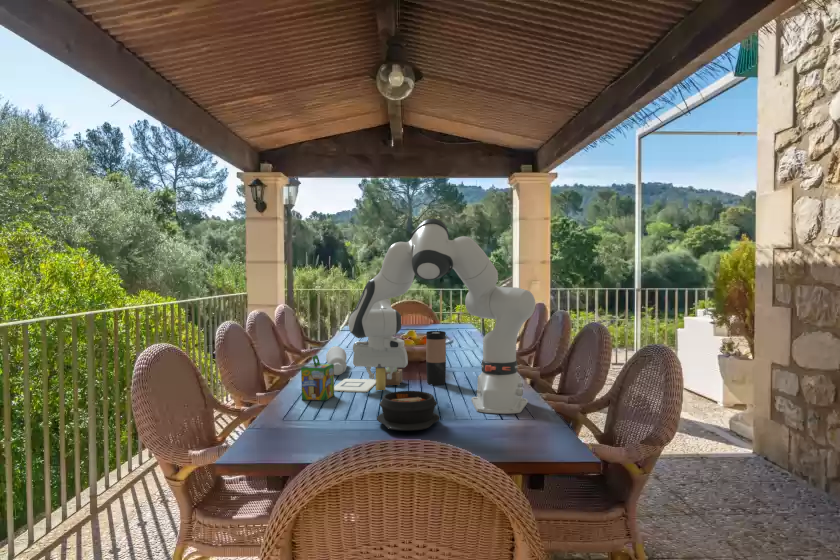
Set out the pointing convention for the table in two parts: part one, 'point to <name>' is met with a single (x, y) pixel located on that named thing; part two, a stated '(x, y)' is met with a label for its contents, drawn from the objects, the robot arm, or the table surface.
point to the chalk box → (317, 381)
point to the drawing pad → (355, 385)
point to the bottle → (337, 359)
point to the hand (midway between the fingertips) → (380, 378)
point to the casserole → (408, 410)
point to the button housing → (394, 377)
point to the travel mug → (436, 357)
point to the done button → (390, 370)
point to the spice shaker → (380, 377)
